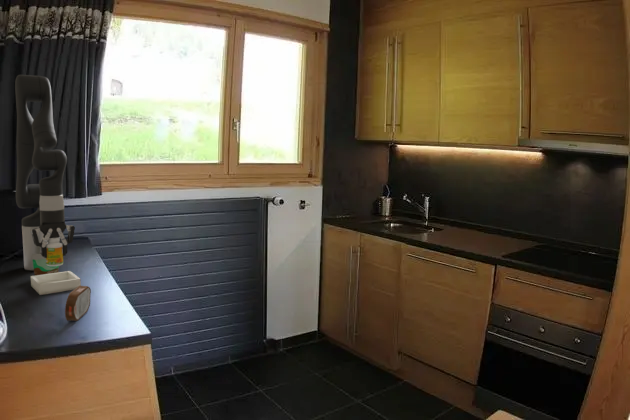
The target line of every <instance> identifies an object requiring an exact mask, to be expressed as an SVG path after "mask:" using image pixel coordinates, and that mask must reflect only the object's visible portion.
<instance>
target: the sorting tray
mask: <svg viewBox="0 0 630 420" xmlns="http://www.w3.org/2000/svg"><path fill="white" fill-rule="evenodd" d="M81 283H82V282H81V278H80V277H79V276H78V275H76V274H75V273H74V272H72V271H71V270H66V271H58V273H51V274H43V275H36V276H35V275H30V286H31V287H32V288H33V290H35V292H36V293H37V294H39V296H42V295H49V294H56V293H62V292H67V291H73V290H75V289H76V288H77V287H79V286H80V285H81V286H82V284H81Z"/></svg>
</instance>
